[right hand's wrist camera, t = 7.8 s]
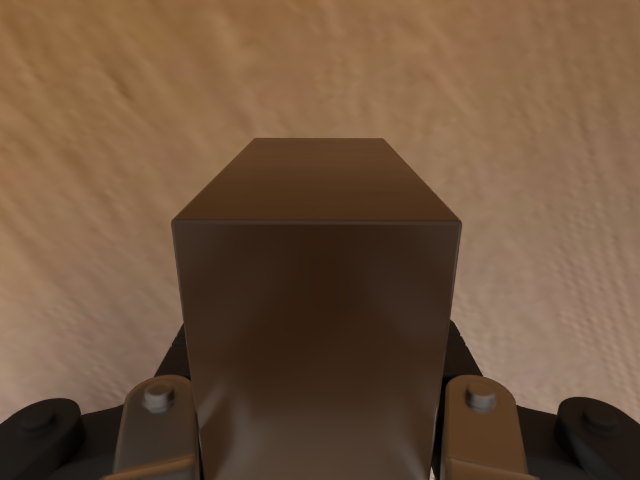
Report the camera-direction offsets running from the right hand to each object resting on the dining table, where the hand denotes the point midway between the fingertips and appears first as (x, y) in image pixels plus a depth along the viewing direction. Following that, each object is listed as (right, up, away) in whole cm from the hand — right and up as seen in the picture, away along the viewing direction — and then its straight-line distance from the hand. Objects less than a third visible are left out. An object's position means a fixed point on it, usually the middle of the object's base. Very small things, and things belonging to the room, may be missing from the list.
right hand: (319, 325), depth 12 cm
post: (0, -29, +15) cm, 33 cm away
